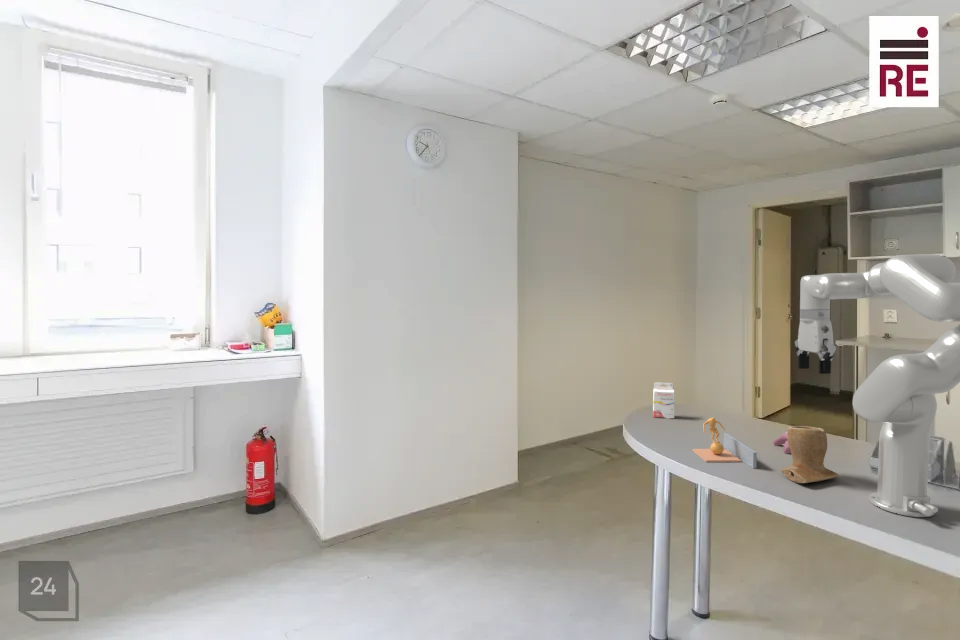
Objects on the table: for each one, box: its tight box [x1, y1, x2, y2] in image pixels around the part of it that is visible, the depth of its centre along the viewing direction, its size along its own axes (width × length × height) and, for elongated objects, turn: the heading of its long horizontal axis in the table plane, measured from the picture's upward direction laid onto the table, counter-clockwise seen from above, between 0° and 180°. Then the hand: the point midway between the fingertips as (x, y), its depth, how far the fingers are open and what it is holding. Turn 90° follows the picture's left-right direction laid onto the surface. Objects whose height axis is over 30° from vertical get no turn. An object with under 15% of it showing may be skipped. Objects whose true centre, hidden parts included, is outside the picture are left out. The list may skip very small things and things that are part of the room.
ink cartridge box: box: [652, 381, 676, 419], centre depth 209 cm, size 9×5×15 cm, turn 72°
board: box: [692, 448, 742, 463], centre depth 161 cm, size 11×11×1 cm
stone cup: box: [780, 425, 839, 484], centre depth 142 cm, size 15×12×15 cm
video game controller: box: [772, 431, 791, 455], centre depth 166 cm, size 10×5×7 cm, turn 170°
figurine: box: [702, 416, 726, 455], centre depth 162 cm, size 8×6×12 cm
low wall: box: [723, 432, 758, 469], centre depth 160 cm, size 20×1×5 cm, turn 178°
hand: (813, 370), depth 149 cm, fingers open, 9 cm apart
